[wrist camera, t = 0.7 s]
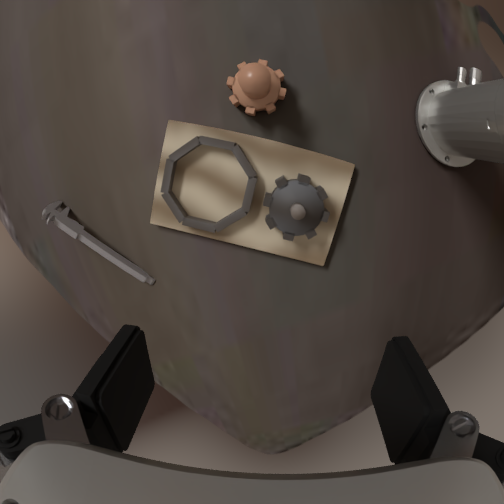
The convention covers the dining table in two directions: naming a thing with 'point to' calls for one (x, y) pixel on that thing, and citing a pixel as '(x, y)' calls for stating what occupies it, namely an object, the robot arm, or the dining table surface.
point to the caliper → (91, 240)
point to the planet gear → (256, 87)
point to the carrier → (249, 191)
